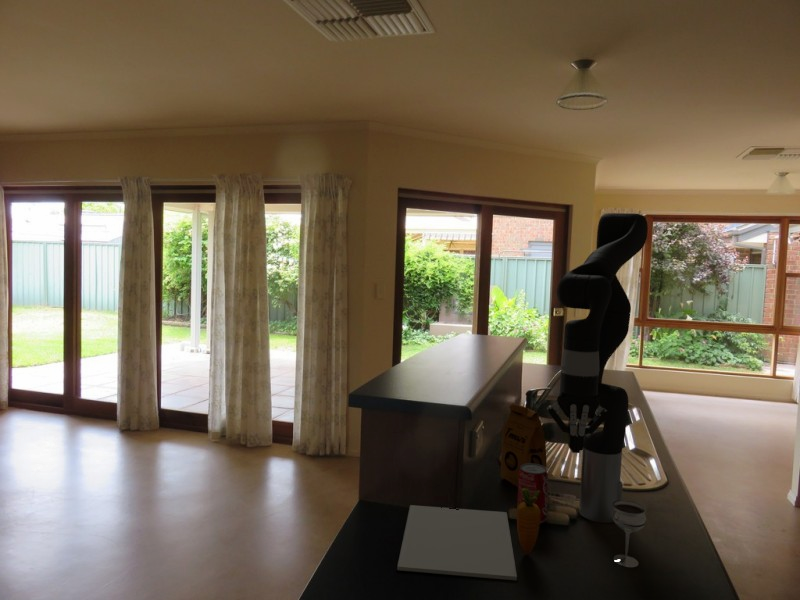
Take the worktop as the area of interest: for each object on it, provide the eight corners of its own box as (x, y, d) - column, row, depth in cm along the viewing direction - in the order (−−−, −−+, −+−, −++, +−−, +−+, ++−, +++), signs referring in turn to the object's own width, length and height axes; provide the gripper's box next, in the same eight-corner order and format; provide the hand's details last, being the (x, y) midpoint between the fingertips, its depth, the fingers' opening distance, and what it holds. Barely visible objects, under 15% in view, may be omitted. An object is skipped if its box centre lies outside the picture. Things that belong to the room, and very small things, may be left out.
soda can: (547, 527, 136) (550, 475, 134) (516, 524, 137) (518, 471, 136) (545, 514, 143) (548, 464, 141) (516, 511, 144) (518, 461, 143)
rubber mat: (506, 515, 142) (506, 512, 141) (516, 580, 114) (516, 576, 114) (410, 508, 144) (410, 505, 144) (397, 570, 116) (397, 566, 116)
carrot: (539, 551, 125) (542, 485, 124) (537, 563, 120) (540, 494, 119) (516, 547, 127) (519, 481, 125) (513, 558, 122) (516, 490, 120)
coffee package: (521, 495, 153) (525, 415, 151) (495, 478, 164) (498, 403, 162) (551, 490, 157) (555, 412, 155) (523, 473, 168) (527, 400, 166)
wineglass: (604, 551, 126) (607, 499, 124) (635, 552, 125) (639, 500, 124) (615, 569, 119) (618, 513, 118) (648, 570, 119) (652, 515, 118)
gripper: (608, 368, 122) (603, 447, 123) (544, 365, 123) (540, 443, 125) (617, 376, 114) (612, 460, 116) (550, 373, 116) (545, 456, 117)
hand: (575, 451), depth 120 cm, fingers closed
